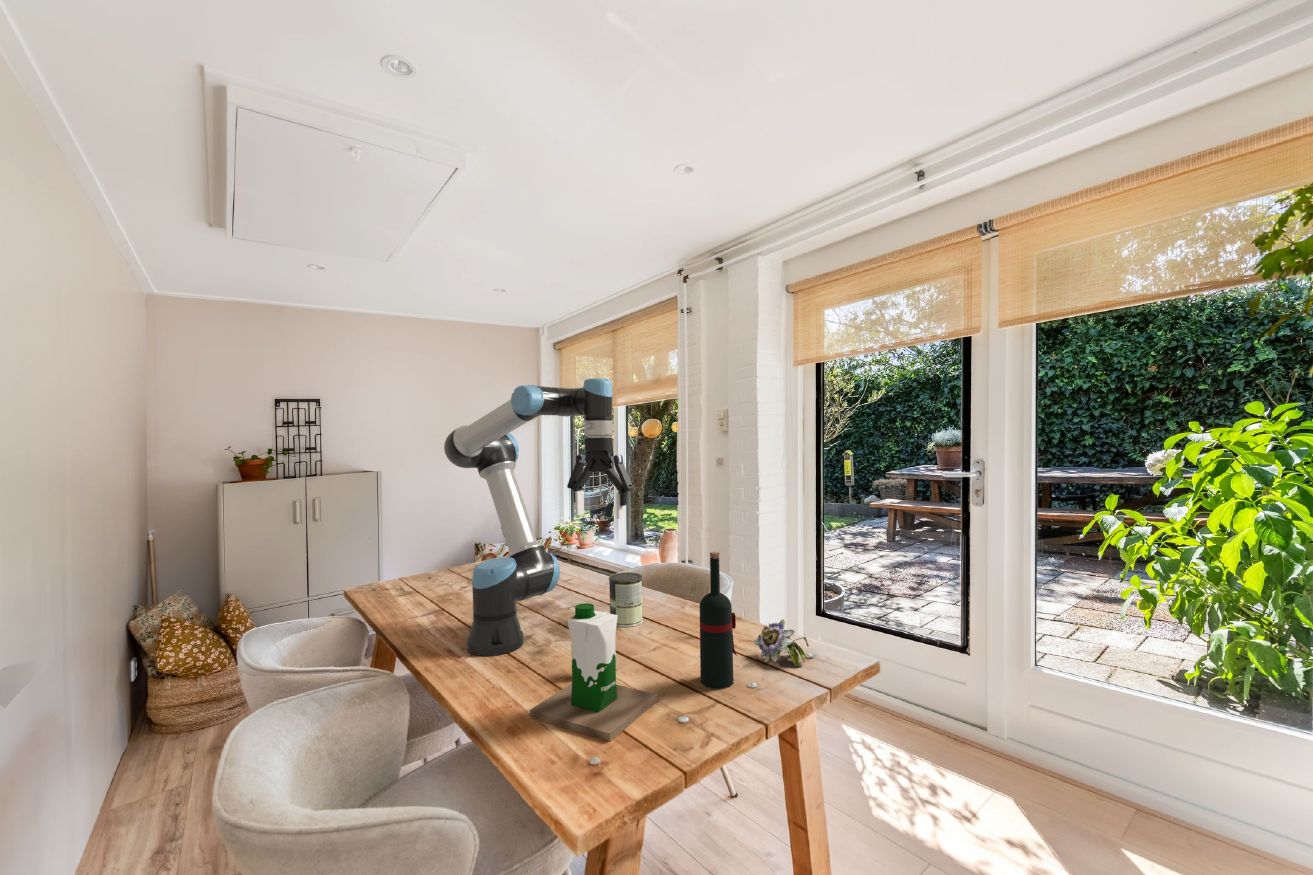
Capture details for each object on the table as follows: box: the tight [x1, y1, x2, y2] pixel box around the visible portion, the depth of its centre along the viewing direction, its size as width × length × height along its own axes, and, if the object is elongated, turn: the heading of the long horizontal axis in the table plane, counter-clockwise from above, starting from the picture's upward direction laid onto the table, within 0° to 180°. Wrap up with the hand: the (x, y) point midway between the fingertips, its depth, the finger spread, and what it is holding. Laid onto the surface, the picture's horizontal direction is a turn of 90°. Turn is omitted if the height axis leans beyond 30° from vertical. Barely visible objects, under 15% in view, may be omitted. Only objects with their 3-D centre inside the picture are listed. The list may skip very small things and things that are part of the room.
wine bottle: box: [699, 551, 738, 690], centre depth 132 cm, size 8×10×30 cm
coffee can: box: [608, 572, 644, 628], centre depth 174 cm, size 10×10×14 cm
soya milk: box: [566, 602, 618, 712], centre depth 119 cm, size 9×9×20 cm
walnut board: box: [529, 682, 658, 742], centre depth 119 cm, size 20×18×2 cm
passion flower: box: [752, 618, 810, 668], centre depth 143 cm, size 11×11×12 cm
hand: (599, 516), depth 150 cm, fingers open, 13 cm apart
